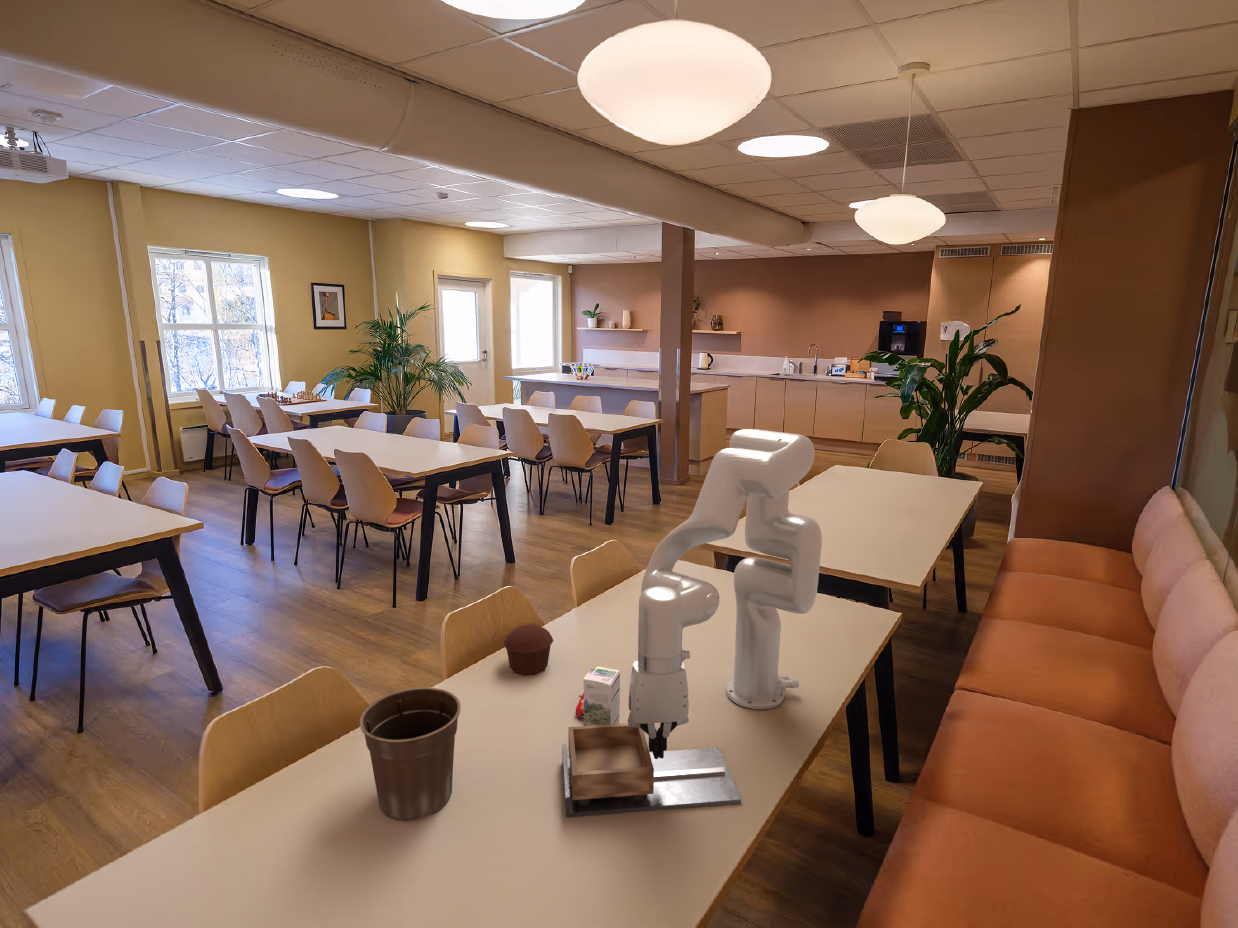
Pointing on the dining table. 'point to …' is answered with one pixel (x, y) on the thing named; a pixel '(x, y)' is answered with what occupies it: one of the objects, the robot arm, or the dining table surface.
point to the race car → (580, 708)
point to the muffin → (528, 649)
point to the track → (666, 785)
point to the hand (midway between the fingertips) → (657, 753)
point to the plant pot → (412, 750)
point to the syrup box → (601, 696)
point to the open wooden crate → (609, 762)
